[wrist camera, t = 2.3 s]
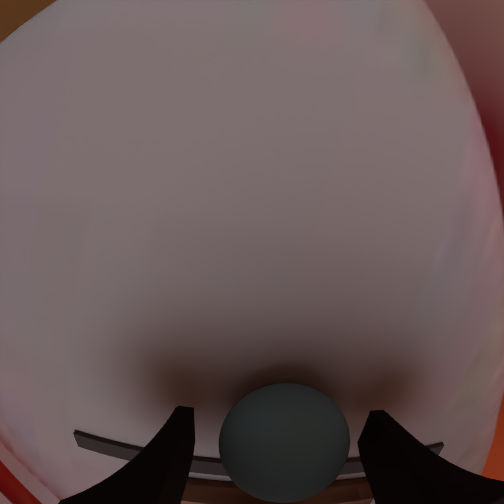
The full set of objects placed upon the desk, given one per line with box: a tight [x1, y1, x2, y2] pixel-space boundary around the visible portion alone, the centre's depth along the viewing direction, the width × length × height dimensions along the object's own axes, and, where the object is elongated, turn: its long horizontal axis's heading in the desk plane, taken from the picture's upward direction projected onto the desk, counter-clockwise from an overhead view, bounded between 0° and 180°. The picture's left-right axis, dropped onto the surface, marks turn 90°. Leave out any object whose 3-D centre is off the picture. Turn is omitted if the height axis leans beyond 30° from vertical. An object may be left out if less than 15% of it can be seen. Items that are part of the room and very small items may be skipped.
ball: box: [219, 383, 350, 503], centre depth 10 cm, size 5×5×5 cm
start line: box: [73, 430, 444, 476], centre depth 14 cm, size 22×1×1 cm, turn 85°
